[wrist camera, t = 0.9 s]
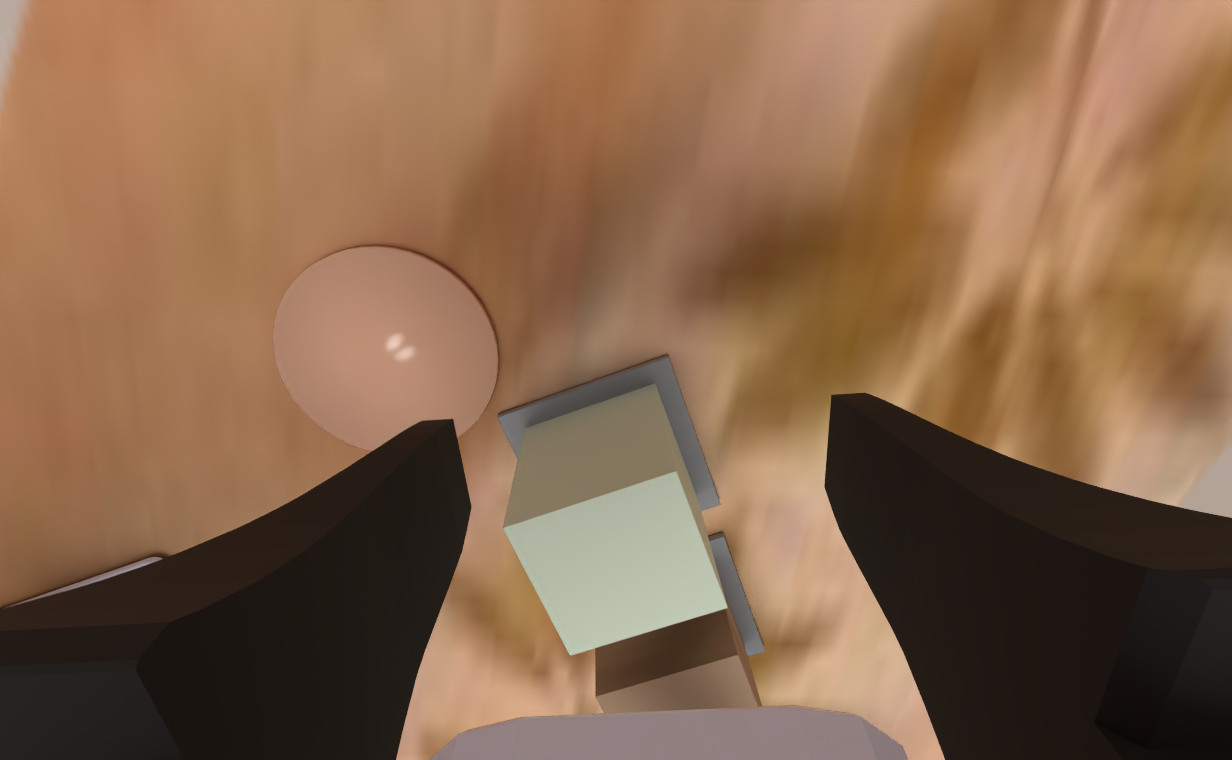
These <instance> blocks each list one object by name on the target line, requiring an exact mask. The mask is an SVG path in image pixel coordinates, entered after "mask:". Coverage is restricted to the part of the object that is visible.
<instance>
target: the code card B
mask: <svg viewBox="0 0 1232 760" xmlns="http://www.w3.org/2000/svg"><path fill="white" fill-rule="evenodd" d="M708 538H709V542H710V546H711V549H712V553H713V556H714V560H715V564H716V567H717V571H718V574H719V578H720V581H721V584H722V587H723V589H724V592H725V595H726V597H727V600H728V603H729V605H730V608H731V611H732V613H733V616H734V619H735V621H736V624H737V627H738V629H739V632H740V635H741V637H742V640H743V643H744V646H745V649H746V653H747V656H751V655H754V654H757V653H761V652H764V651H765V650H764V646H763V644H762V641H761V638H760V635H759V632H758V630H757V627H756V624H755V621H754V619H753V616H752V613H751V610H750V607H749V605H748V602H747V599H746V596H745V594H744V591H743V588H742V585H741V582H740V580H739V577H738V574H737V571H736V568H735V566H734V563H733V560H732V557H731V555H730V552H729V549H728V546H727V543H726V541H725V538H724V535H723V532H721V533H718V534H715V535H711V536H708Z"/></svg>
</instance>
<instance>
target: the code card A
mask: <svg viewBox="0 0 1232 760" xmlns="http://www.w3.org/2000/svg"><path fill="white" fill-rule="evenodd" d="M652 384H656V387H657V390H658V392H659V395H660V398H661V400H662V403H663V406H664V408H665V411H666V414H667V417H668V419H669V422H670V425H671V427H672V430H673V433H674V436H675V438H676V441H677V444H678V446H679V449H680V452H681V455H682V457H683V460H684V463H685V465H686V468H687V471H688V474H689V476H690V479H691V482H692V484H693V487H694V490H695V493H696V495H697V499H698V502H699V506H700V510H701V511H702V510H705V509H708V508H711V507H715V506H718V505H721V504H720V501H719V498H718V496H717V493H716V490H715V487H714V484H713V482H712V479H711V476H710V473H709V470H708V467H707V465H706V462H705V459H704V456H703V453H702V450H701V448H700V445H699V442H698V439H697V436H696V433H695V431H694V428H693V425H692V422H691V419H690V416H689V414H688V411H687V408H686V405H685V402H684V399H683V397H682V394H681V391H680V388H679V385H678V382H677V380H676V377H675V374H674V371H673V368H672V365H671V363H670V360H669V357H668V355H666V356H663V357H660V358H657V359H654V360H651V361H648V362H646V363H643V364H640V365H637V366H634V367H631V368H628V369H626V370H623V371H620V372H617V373H614V374H611V375H608V376H606V377H603V378H600V379H597V380H594V381H591V382H589V383H586V384H583V385H580V386H577V387H574V388H571V389H569V390H566V391H563V392H560V393H557V394H554V395H551V396H549V397H546V398H543V399H540V400H537V401H534V402H531V403H529V404H526V405H523V406H520V407H517V408H514V409H511V410H509V411H506V412H503V413H500V414H498V417H497V418H498V420H499V422H500V424H501V426H502V428H503V430H504V432H505V434H506V436H507V438H508V440H509V442H510V444H511V446H512V448H513V450H514V452H515V454H516V456H517V459H518V458H519V453H520V449H521V444H522V439H523V435H524V430H525V428H528V427H530V426H533V425H536V424H539V423H542V422H545V421H548V420H551V419H554V418H556V417H559V416H562V415H565V414H568V413H571V412H574V411H577V410H580V409H582V408H585V407H588V406H591V405H594V404H597V403H600V402H603V401H606V400H608V399H611V398H614V397H617V396H620V395H623V394H626V393H629V392H632V391H634V390H637V389H640V388H643V387H646V386H649V385H652Z"/></svg>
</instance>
